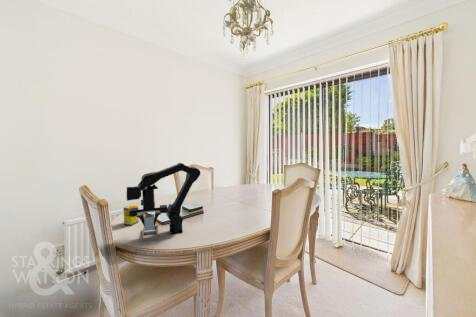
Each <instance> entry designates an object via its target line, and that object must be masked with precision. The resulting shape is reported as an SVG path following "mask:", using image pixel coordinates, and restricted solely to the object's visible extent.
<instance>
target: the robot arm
mask: <svg viewBox="0 0 476 317" xmlns="http://www.w3.org/2000/svg"><path fill="white" fill-rule="evenodd" d="M181 171H182V172H185V173H186V175H185V179H184V182H183V185H182V186H181V188H180V190H179V192H178V194H177V196H176V197H175V199H174V201H173V203H172V204H171V203H169V204H168V205H167V204H161V205H159V207H156V203H155V202H156V201H155V190H158V189H159V187H158V186H157V185H155V184H156V183H158V182H159V181H160V180H163V179H164V178H166V177H168V176H169V177H170V176H171V175H174V174H176V173H178V172H181ZM200 176H201V170H200V169H199V168H198V167H195V166H191V167H190V166H188V165H185V164H184V163H182V162H179V163H177V164H174V165H171V166H169V167H166V168H164V169H162V170H159V171H154V172H148V173H144V174H142V176H141V178H140V181H139V183H138V185H136V186H127V187H126V192H125V194H126V201H127V202H129V201H134V200H140V206H141V207H142V208H140V209H139V207H138V208H131V209H130V211H129V217H133V216H136V215H137V217H138V220H140V221H141V223H142V225H143V228H144V227H145V221H144V217H145V213H154V226H155V225H156V224H157V220H158V218H159V216H161V214H166V217H167V218H168V220H169V221H170V223H169V225H168V226H169V233H170V234H171V235H176V234H182V233H183V232H184V230H183V220H184V218H183V217H182V216H181V210H182V205H183V204H184V201H185V199H186V197H187V196H188V194H189V191H190V190H191V188H192V185H193V184H194V183H195V182H196V181H197V180H198V178H199V177H200ZM141 197H142V199H141Z"/></svg>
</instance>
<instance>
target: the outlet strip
mask: <svg viewBox="0 0 476 317" xmlns="http://www.w3.org/2000/svg"><path fill="white" fill-rule="evenodd" d="M155 229H156V230H155ZM154 234H155V236H148V235H154ZM144 236H147V237H144ZM139 239H140V242H141V241H142V242H149V241H155V240H158V239H159V224H155V226H154V230H148V231H145V227H144V226H143V228H142V230H141V236H140V238H139Z"/></svg>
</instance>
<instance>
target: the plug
mask: <svg viewBox="0 0 476 317" xmlns="http://www.w3.org/2000/svg"><path fill="white" fill-rule="evenodd" d="M154 218H155V213H147V214H144V221H145V232H148V231H155V228H154Z"/></svg>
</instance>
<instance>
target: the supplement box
mask: <svg viewBox="0 0 476 317" xmlns="http://www.w3.org/2000/svg"><path fill="white" fill-rule="evenodd" d="M131 208H138V209H139V205H136V204H134V205H133V204H130V205H127V206H124V207H123V224H124V225H125V226H131V227H132V226H134V225H135V224H138V223H139V220H140V219H139V217H137V215H136V216H133V217H129V211H130V209H131Z"/></svg>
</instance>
